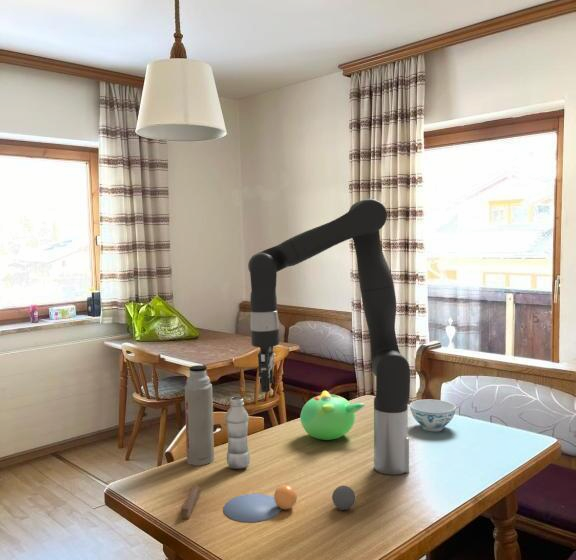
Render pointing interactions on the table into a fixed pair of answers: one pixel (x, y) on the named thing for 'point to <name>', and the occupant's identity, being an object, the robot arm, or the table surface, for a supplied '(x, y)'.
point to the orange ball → (285, 497)
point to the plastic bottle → (237, 434)
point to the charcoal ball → (343, 497)
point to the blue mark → (251, 508)
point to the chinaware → (432, 413)
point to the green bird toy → (328, 416)
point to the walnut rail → (190, 502)
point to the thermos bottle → (199, 417)
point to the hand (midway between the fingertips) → (267, 387)
